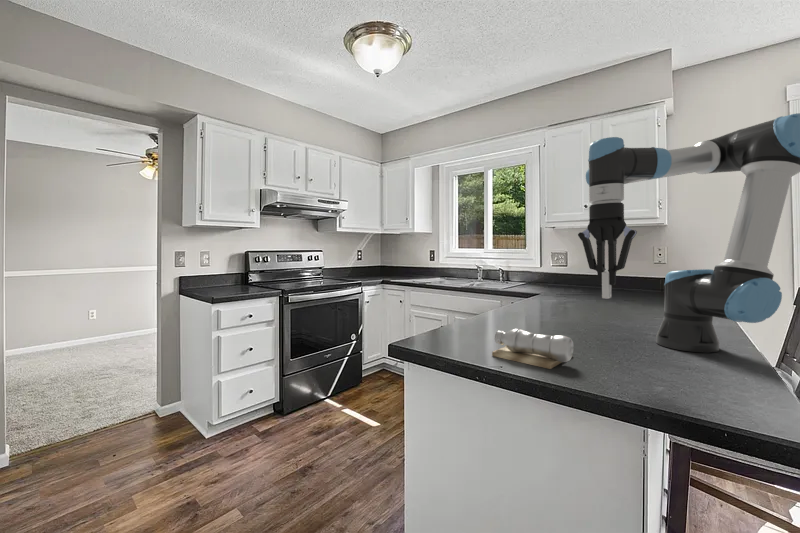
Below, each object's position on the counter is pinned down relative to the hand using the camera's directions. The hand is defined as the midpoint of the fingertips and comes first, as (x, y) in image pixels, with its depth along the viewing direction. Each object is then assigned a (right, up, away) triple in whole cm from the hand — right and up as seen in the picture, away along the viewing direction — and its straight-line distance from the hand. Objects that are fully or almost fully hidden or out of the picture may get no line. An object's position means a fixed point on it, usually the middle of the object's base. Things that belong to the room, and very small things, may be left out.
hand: (606, 297), depth 93 cm
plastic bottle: (-9, -13, -1) cm, 16 cm away
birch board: (-16, -17, +9) cm, 25 cm away
